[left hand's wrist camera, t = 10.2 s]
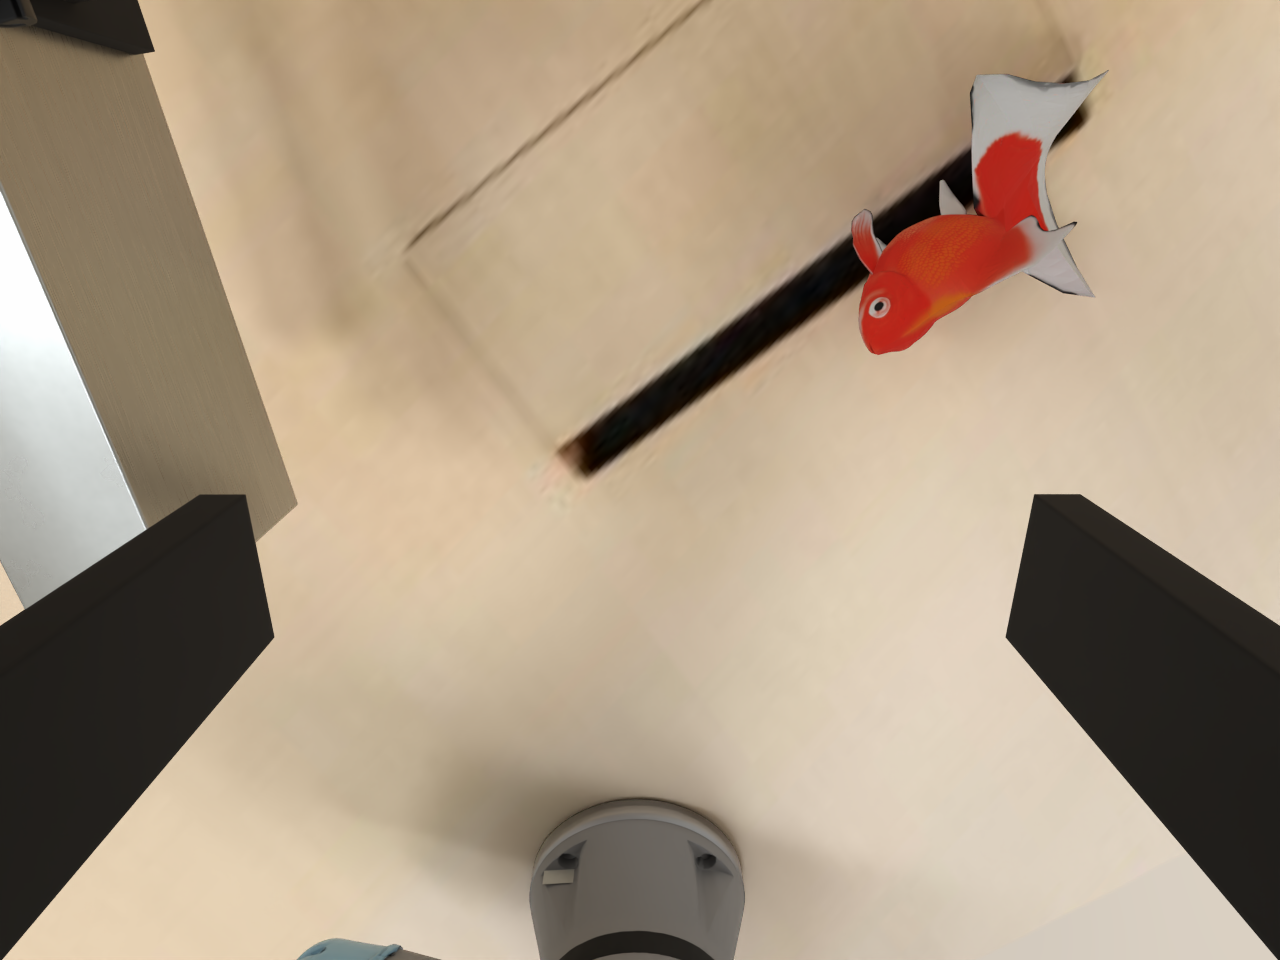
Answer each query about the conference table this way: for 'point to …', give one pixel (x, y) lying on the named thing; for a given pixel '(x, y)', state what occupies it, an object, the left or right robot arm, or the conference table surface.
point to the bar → (109, 322)
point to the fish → (976, 219)
